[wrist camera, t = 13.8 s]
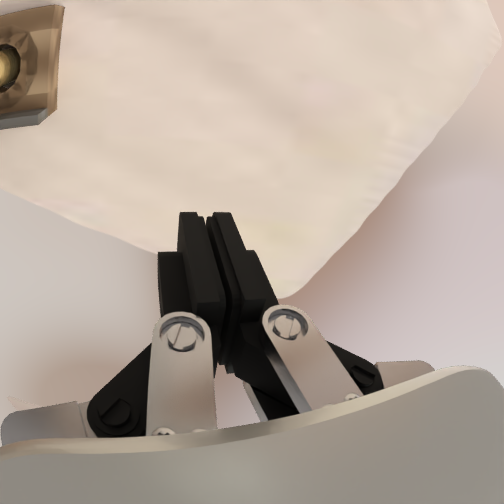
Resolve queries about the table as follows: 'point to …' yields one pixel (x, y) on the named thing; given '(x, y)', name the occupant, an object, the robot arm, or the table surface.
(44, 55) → the jig
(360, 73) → the table surface
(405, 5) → the table surface
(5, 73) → the gold cylinder
